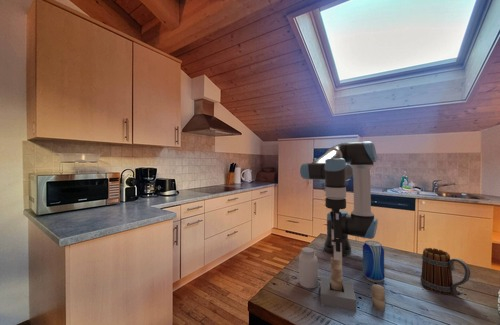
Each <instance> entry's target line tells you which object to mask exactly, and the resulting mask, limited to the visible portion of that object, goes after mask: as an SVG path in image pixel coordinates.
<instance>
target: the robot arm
mask: <svg viewBox="0 0 500 325" xmlns="http://www.w3.org/2000/svg"><path fill="white" fill-rule="evenodd" d="M377 155H378V154H377V151H376V147H375V144H374V142H372V141H366V140H365V141H354V142H353V141H351V142H342V143H338V144H336V145H333V146H332V147H330V148H328V149H327V150H326V152H325V153H324V154H323V155H320V157H318V158H316V159H315V160H313V162H310V163H309V162H306V163H301V166H300V168H299V173H300V177H301V179H304V180H305V179H306V180H324V181H325V182H324V186H325V187H324V189H323V192H325V193H324V194H325V197H326V198H324V199H325V207H326V208H327V209H329V210H331V211H329V212H328V213H327V214H326V239H325V242H324V245H323V247H324V250H325V251H326V252H328V253H330V254H333V257H334V260H342V261H343V256H346V255H350V254H351V253H352V247H351V243H350V240H349V236H354V237H358V238H363V239H369V240H374V238H375V237H376V234H377V229H378V220H379V219H378V218H377V217H375V214H374V212H372V206H371V205H372V203H371V202H372V201H371V200H372V198H371V197H372V194H371V193H372V192H371V188H372V187H371V185H372V184H371V168H373V166H374V163H376V162H378V161H377V160H378V159H377V158H378V156H377ZM352 177H353V178H352ZM351 178H352V179H353V181H352V182H353V209H352V211H350V214H348V211H346V210H345V209H346V208H347V199H346V198H347V187H346V186H347V184H346V182H347V181H348V180H349V179H351Z"/></svg>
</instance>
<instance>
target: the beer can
mask: <svg viewBox="0 0 500 325" xmlns="http://www.w3.org/2000/svg"><path fill="white" fill-rule="evenodd" d="M362 273H363V275H364V278H365V279H366V280H368V281H370V282H372V283H382V282H383V281H384V280H385V249H384V247H383V246H382V243H381V242H379V241H377V240H376V241H375V240H371V239H369V240H365V241H364V243H363V245H362Z"/></svg>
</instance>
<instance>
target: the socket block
mask: <svg viewBox="0 0 500 325" xmlns="http://www.w3.org/2000/svg"><path fill="white" fill-rule="evenodd" d="M319 279H320V305H321V306H326V307H332V308H337V309H343V310H346V311H352V312H353V311H354V312H357V297H356V295H355V290H354V287H353V283H352V281H348V280H343V279H342V292H339V291H333V290H331V277H330V278H327V277H321V276H320V278H319Z"/></svg>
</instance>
